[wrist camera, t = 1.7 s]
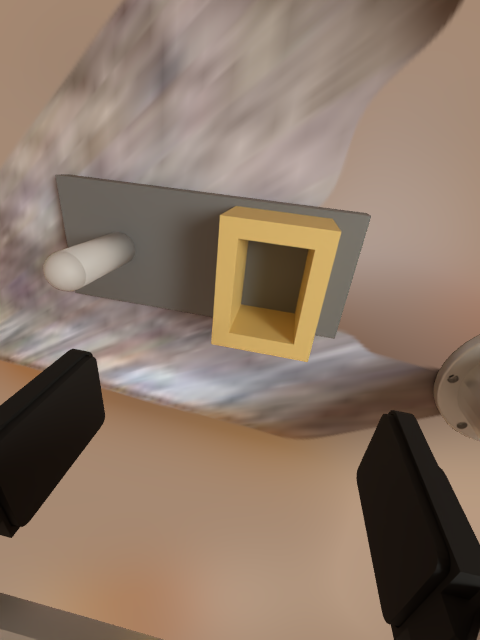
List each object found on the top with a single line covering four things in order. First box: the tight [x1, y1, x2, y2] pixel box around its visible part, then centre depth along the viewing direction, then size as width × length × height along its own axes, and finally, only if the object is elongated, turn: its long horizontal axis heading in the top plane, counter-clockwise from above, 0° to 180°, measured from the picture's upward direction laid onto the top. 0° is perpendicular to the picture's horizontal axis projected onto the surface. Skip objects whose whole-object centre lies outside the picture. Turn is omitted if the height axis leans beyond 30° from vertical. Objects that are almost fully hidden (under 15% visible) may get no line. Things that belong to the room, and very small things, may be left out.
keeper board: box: [43, 175, 371, 339], centre depth 21 cm, size 24×10×9 cm, turn 84°
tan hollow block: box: [211, 206, 341, 362], centre depth 21 cm, size 7×9×5 cm
